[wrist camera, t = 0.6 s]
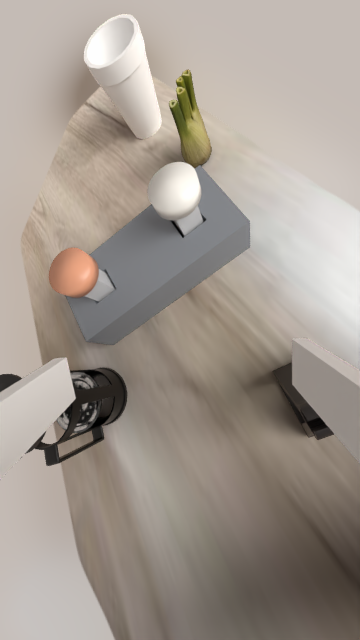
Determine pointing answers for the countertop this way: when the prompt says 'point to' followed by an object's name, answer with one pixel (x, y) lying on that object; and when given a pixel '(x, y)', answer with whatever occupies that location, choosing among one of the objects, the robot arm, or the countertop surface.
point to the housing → (160, 263)
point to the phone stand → (301, 405)
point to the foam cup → (125, 73)
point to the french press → (81, 409)
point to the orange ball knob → (79, 276)
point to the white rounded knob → (177, 195)
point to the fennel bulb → (190, 123)
